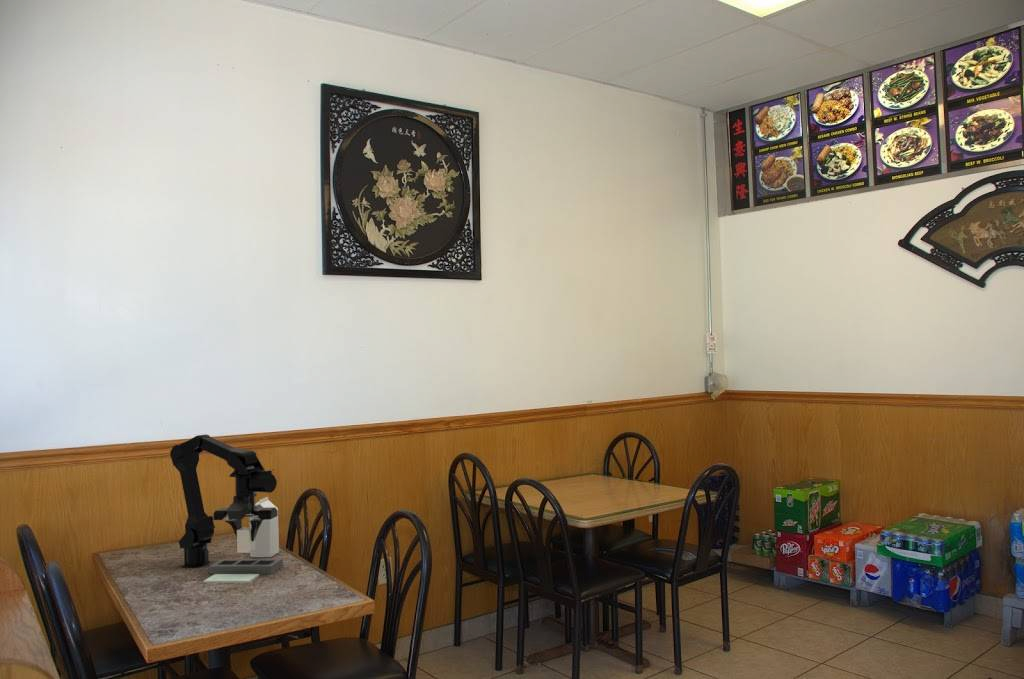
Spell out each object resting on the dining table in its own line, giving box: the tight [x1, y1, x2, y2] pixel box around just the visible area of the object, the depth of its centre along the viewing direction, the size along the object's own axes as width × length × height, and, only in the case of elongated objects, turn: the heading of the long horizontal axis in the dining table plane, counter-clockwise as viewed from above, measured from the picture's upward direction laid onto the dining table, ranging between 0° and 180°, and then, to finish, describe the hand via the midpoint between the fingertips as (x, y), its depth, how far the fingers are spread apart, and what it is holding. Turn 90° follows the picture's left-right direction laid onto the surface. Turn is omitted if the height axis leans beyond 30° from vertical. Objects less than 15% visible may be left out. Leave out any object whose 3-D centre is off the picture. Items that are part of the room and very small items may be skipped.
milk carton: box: [249, 496, 280, 558], centre depth 261 cm, size 7×7×19 cm
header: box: [208, 558, 284, 575], centre depth 242 cm, size 20×9×2 cm, turn 85°
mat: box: [203, 574, 260, 584], centre depth 232 cm, size 14×7×1 cm, turn 84°
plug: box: [236, 526, 255, 554], centre depth 243 cm, size 4×4×7 cm
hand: (246, 541), depth 243 cm, fingers closed on plug, 4 cm apart
